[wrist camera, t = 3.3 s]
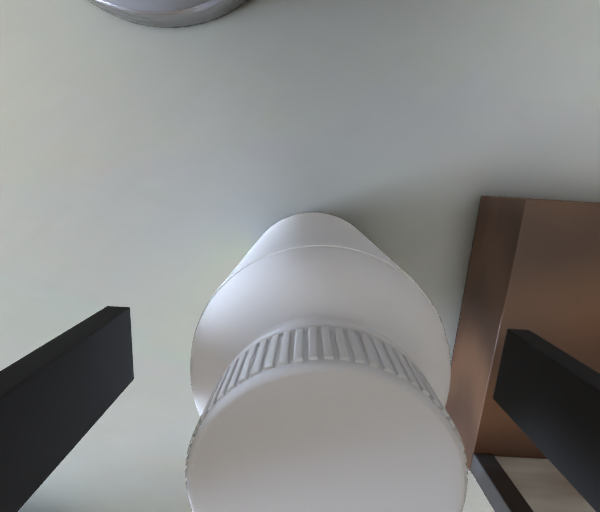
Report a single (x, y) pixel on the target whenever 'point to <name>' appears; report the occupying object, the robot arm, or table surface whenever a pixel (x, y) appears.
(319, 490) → the pill bottle
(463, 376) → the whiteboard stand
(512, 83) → the table surface
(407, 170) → the table surface
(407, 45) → the table surface
